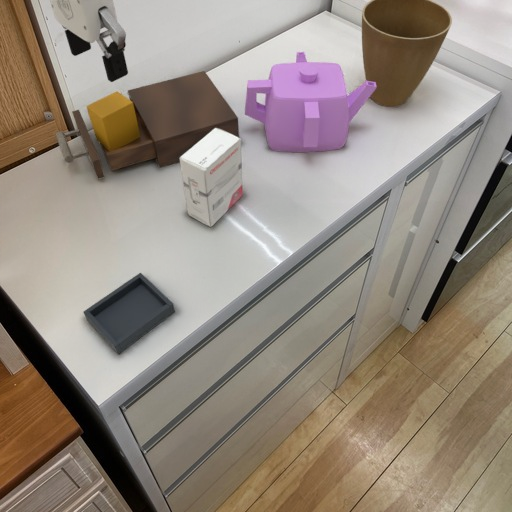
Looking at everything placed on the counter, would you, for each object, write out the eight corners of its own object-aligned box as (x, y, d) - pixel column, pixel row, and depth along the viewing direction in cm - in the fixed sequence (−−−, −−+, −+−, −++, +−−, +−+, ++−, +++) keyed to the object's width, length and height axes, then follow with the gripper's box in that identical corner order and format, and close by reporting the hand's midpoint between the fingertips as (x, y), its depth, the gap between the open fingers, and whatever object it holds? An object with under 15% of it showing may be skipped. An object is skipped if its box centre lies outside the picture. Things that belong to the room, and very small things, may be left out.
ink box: (220, 183, 87) (216, 124, 78) (244, 195, 85) (243, 136, 76) (186, 215, 83) (177, 156, 73) (211, 228, 81) (205, 170, 72)
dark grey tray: (118, 354, 67) (114, 346, 66) (86, 320, 71) (82, 311, 69) (175, 311, 71) (173, 303, 70) (142, 280, 75) (140, 272, 73)
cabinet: (159, 167, 90) (154, 141, 85) (133, 116, 99) (127, 90, 94) (239, 144, 93) (238, 117, 89) (206, 96, 102) (204, 70, 98)
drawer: (73, 186, 86) (67, 168, 83) (55, 135, 94) (49, 117, 91) (176, 156, 90) (173, 138, 87) (150, 109, 98) (147, 91, 95)
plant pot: (334, 99, 102) (345, 17, 89) (377, 66, 109) (392, -14, 96) (402, 130, 95) (424, 47, 83) (442, 93, 102) (468, 11, 90)
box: (111, 153, 89) (101, 118, 84) (96, 140, 91) (86, 106, 86) (140, 137, 92) (133, 102, 86) (125, 125, 94) (117, 90, 88)
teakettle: (237, 132, 95) (235, 70, 86) (298, 91, 103) (302, 30, 94) (312, 176, 88) (318, 113, 78) (371, 128, 96) (383, 66, 86)
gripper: (6, -70, 69) (47, 52, 83) (78, -28, 61) (111, 99, 75) (57, -86, 72) (89, 34, 86) (132, -48, 65) (154, 77, 78)
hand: (99, 64), depth 80 cm, fingers open, 9 cm apart
